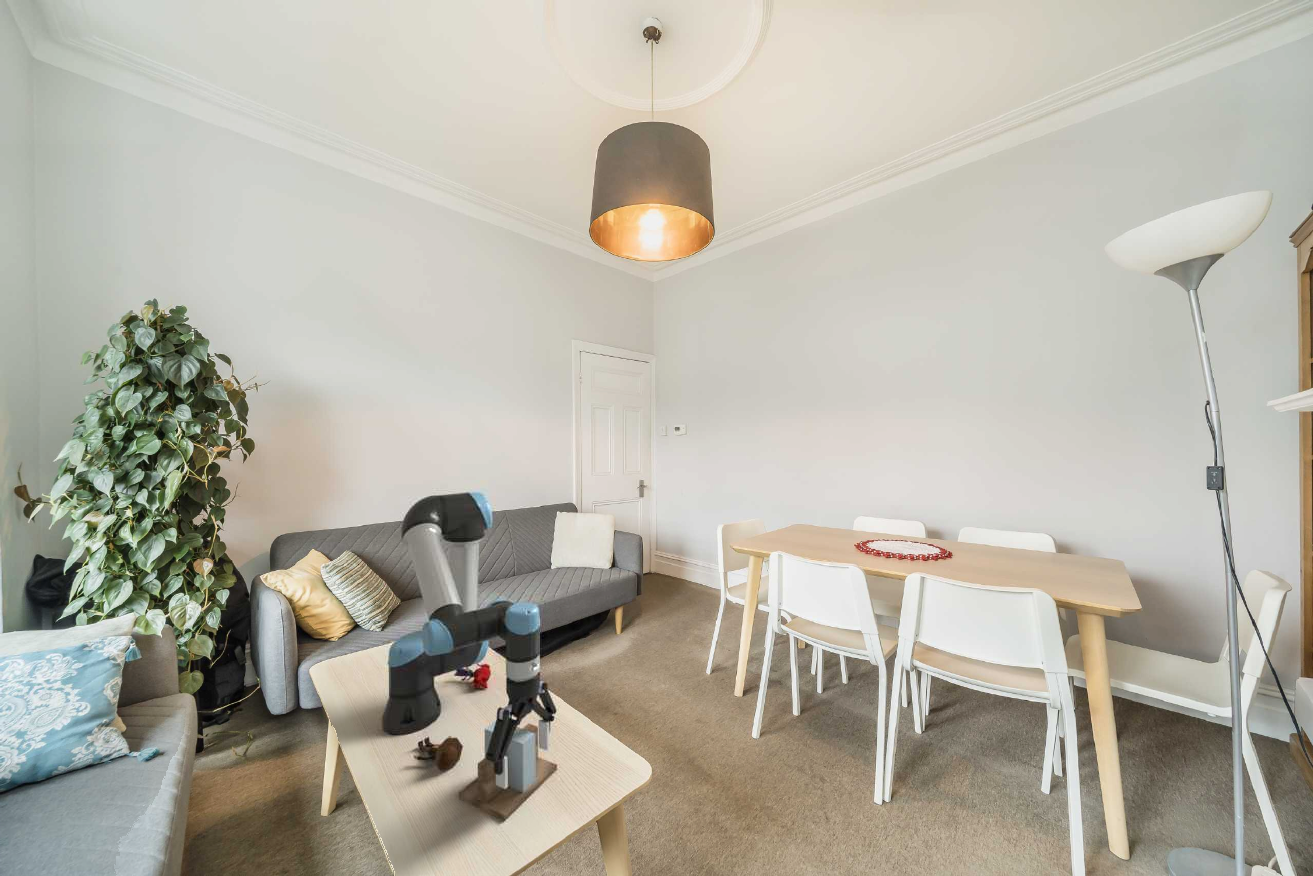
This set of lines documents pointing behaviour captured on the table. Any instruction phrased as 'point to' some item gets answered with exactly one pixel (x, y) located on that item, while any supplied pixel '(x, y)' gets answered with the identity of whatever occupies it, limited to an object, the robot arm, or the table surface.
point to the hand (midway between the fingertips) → (524, 766)
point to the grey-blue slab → (518, 757)
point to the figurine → (476, 675)
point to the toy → (441, 752)
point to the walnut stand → (500, 799)
